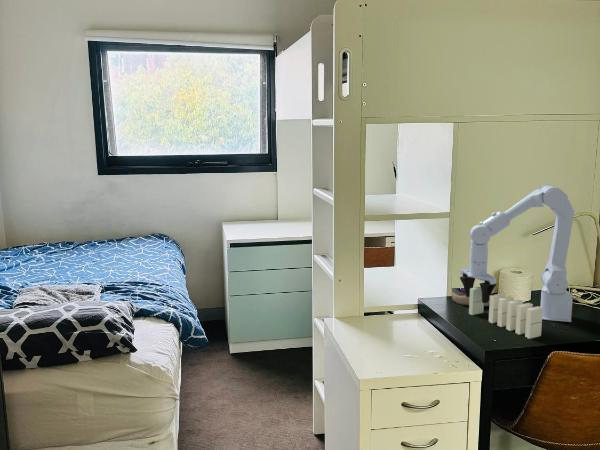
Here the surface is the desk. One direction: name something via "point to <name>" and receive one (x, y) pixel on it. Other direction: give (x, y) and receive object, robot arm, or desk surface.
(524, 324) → the domino
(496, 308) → the domino
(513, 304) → the domino
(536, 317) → the domino
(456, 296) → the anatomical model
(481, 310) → the domino
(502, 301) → the domino
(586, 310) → the desk surface
